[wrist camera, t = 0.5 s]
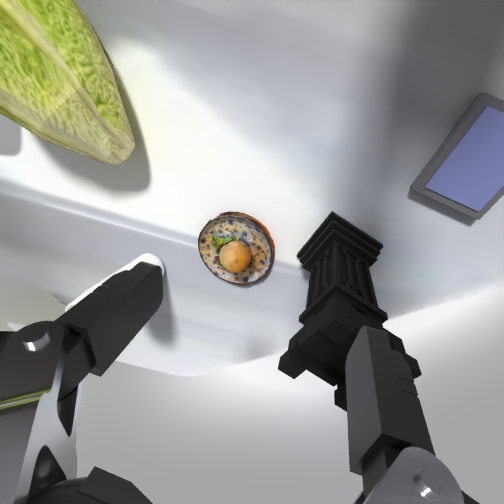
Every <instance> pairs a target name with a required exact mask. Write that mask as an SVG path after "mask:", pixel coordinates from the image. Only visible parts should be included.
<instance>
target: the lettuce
mask: <svg viewBox="0 0 504 504" xmlns="http://www.w3.org/2000/svg"><path fill="white" fill-rule="evenodd" d="M0 114H2V115H4V116H6V117H7V118H9V119H11V120H13V121H14V122H16V123H17V124H19V125H20V126H22V127H24V128H25V129H27V130H28V131H30V132H31V133H33V134H35V135H36V136H38V137H39V138H42V139H44V140H47V141H49V142H51V143H54V144H56V145H59V146H61V147H64V148H66V149H69V150H71V151H74V152H77V153H79V154H82V155H85V156H87V157H90V158H93V159H95V160H98V161H100V162H103V163H107V164H112V165H114V166H116V165H117V164H119V163H121V162H123V161H125V160H127V159H128V158H129V156H130V155H131V153H132V151H133V149H134V147H135V146H136V145H135V141H134V137H133V133H132V130H131V126H130V123H129V120H128V117H127V114H126V111H125V108H124V105H123V102H122V100H121V97H120V93H119V90H118V87H117V84H116V81H115V77H114V74H113V71H112V69H111V66H110V64H109V62H108V60H107V58H106V55H105V53H104V51H103V49H102V47H101V44H100V42H99V40H98V38H97V36H96V34H95V33H94V31H93V29H92V28H91V26H90V24H89V23H88V21H87V19H86V18H85V16H84V14H83V13H82V11H81V9H80V8H79V6H78V4H77V3H76V1H75V0H0Z"/></svg>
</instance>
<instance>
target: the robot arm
mask: <svg viewBox="0 0 504 504" xmlns="http://www.w3.org/2000/svg"><path fill="white" fill-rule="evenodd" d="M162 299H163V282H162V269H161V267H160V266H158V265H154V264H151V263H147V262H144V261H141V262H139V263H138V264H136V265H135V266H134V267H133V268H132V269H130V270H124V271H121V272H119V273H117V274H114V275H112V276H111V277H110V278H108V279H107V280H106V281H105V282H103V283H102V285H101V286H98V287H97V288H96V289H94V290H93V292H92V293H89V294H88V295H87V296H86V297H84V298H83V299H82V300H80V301H79V302H78V303H77V304H75V305H74V306H73V307H72V308H70V309H69V310H68V311H67V312H65V313H64V314H63V315H61V316H60V317H59V318H58V319H56V320H55V321H40V322H36V323H32V324H30V325H27V326H25V327H23V328H21V329H20V330H18V331H17V332H13V331H0V504H152V502H150V500H148V498H147V497H146V496H145V495H144V494H143V493H142V492H141V491H139V490H138V489H137V488H136V487H135V486H134V485H133V484H132V483H131V482H130V481H127V480H125V479H123V478H121V477H118V476H116V475H114V474H111V473H109V472H107V471H105V470H102V469H100V468H97V467H94V468H93V470H92V471H91V473H90V474H89V476H88V477H83V478H76V475H77V455H76V433H77V425H78V418H79V410H80V402H81V394H82V386H83V382H82V380H83V379H84V378H85V376H86V375H87V374H88V373H92V374H94V375H97V376H100V377H101V376H102V374H104V372H105V371H106V370H107V369H108V368H109V366H110V365H111V364H112V363H113V362H114V361H115V359H116V358H117V357H118V356H119V355H120V353H121V352H122V351H123V350H124V349H125V348H126V346H127V345H128V344H129V343H130V342H131V340H132V339H133V338H134V337H135V336H136V334H137V333H138V332H139V331H140V330H141V329H142V327H143V326H144V325H145V324H146V323H147V321H148V320H149V319H150V318H151V317H152V316H153V314H154V313H155V312H156V311H157V310H158V308H159V307H160V305H161V302H162ZM345 372H346V394H347V416H348V438H349V439H348V440H349V463H350V472H353V473H356V474H358V475H361V476H363V489H364V490H363V491H362V492H361V493H360V494H359V496H358V497H357V499H356V500H355V502H354V503H353V504H479V503H478V502H476V501H475V500H474V499H472V498H471V497H469V496H468V495H467V494H465V493H464V492H463V491H462V490H461V489H460V487H459V484H458V483H457V481H456V479H455V477H454V476H453V475H452V473H451V472H450V471H449V469H448V468H447V467H446V466H445V465H444V464H443V463H442V462H441V460H439V459H438V458H437V457H436V455H435V452H434V449H433V446H432V442H431V439H430V435H429V432H428V428H427V425H426V421H425V418H424V414H423V411H422V408H421V404H420V401H419V398H418V397H417V395H418V393H417V390H416V386H415V385H414V379H413V376H412V372H411V369H410V366H409V364H408V363H407V362H406V360H405V359H404V357H403V356H402V354H401V353H400V351H396V350H393V349H391V346H390V341H389V337H388V334H387V333H386V332H385V331H381V330H378V329H374V328H371V327H367V326H363V327H362V328H361V329H360V331H359V333H358V335H357V337H356V339H355V341H354V343H353V345H352V347H351V349H350V351H349V353H348V356H347V359H346V367H345Z"/></svg>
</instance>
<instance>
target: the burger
mask: <svg viewBox="0 0 504 504" xmlns="http://www.w3.org/2000/svg"><path fill="white" fill-rule="evenodd" d="M216 217H217V216H216ZM198 248H199V252H200V256H201V258H202V260H203V262H204V264H205V265H206V266H207V268H208V269H209V270H210V271H211V272H212V273H213V274H214V275H216V276H218V277H220V278H222V279H224V280H226V281H227V282H229V283H234V284H236V285H249V284H250V283H252V282H257V281H258V280H260V279H262V278H263V277H264V276H265V275H266V274H267V272H268V270H269V269H270V268H271V265H272V264H273V261H274V256H275V255H274V249H275V246H274V242H273V239H272V238H271V237H270V234H269V231H268V230H267V229H266V227H265V226H264V225H263V224H262V223H261V222H259V221H258V220H256V219H255V218H253V217H251V216H249V215H247V214H244V213H240V212H225V213H221V214H220V215H219V216H218V217H217V218H215V219H213V220H211V219H210V220H209V222H208V223H207V224H206V226H204V228H203V229H202V231H201V232H200V235H199V238H198Z"/></svg>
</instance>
